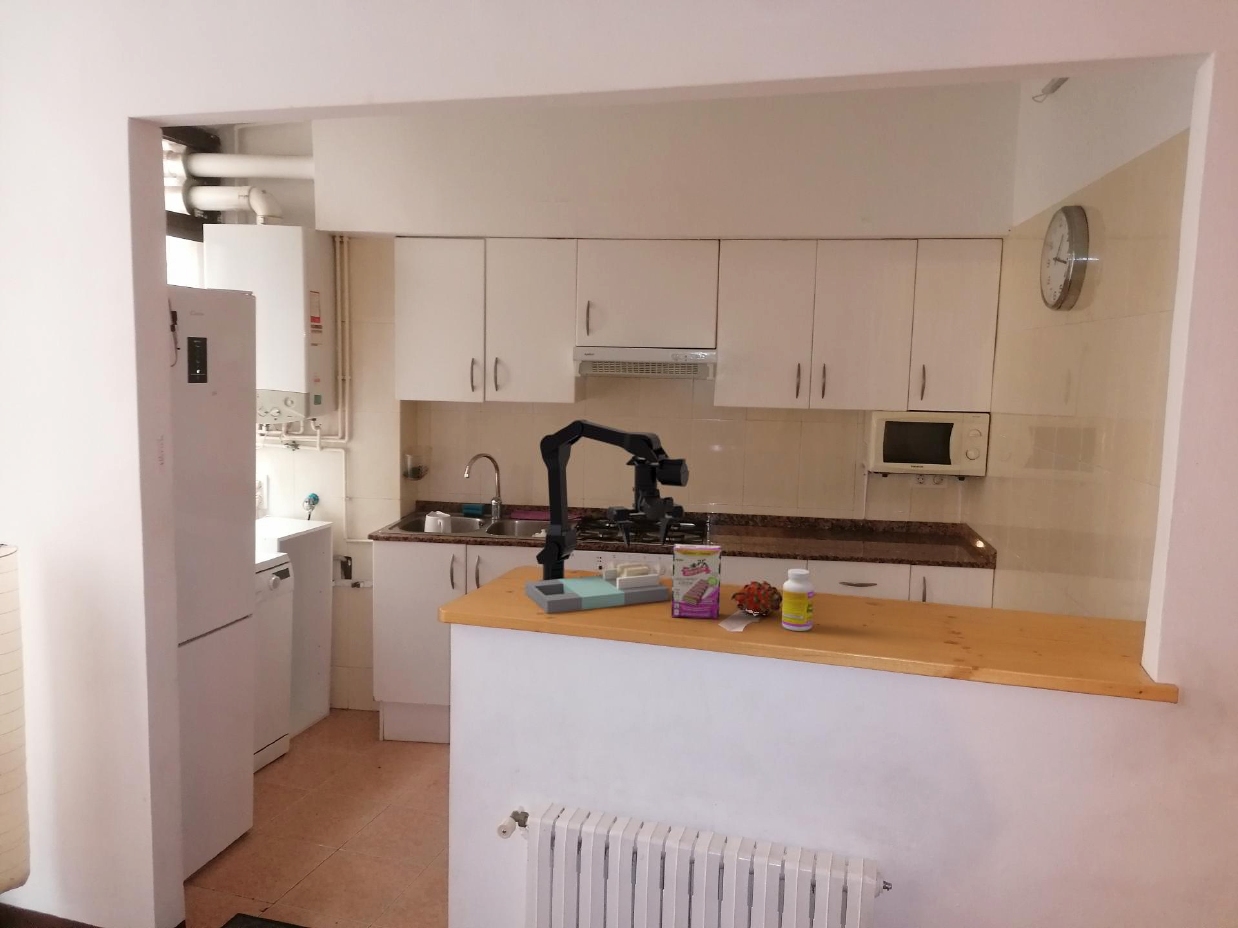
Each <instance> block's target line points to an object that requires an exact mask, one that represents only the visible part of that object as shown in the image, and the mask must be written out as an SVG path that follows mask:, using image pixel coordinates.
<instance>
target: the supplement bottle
mask: <svg viewBox="0 0 1238 928" xmlns="http://www.w3.org/2000/svg"><path fill="white" fill-rule="evenodd" d="M810 575H811V574H810V570H809V569H805V568H790V569H788V571H787V577H788V580H787V581H785V582H784V583H783V585H782V598H783V600H782V609H781V611H782V612H781V625H782V628H784V629H786V630H788V631H794V632H806V631H809V630H811V629H812V627H813V611H814V607H813V606H814V585H813V583H812V582H810V581H809V579H810V577H811V576H810Z"/></svg>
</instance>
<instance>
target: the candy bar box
mask: <svg viewBox="0 0 1238 928" xmlns="http://www.w3.org/2000/svg"><path fill="white" fill-rule="evenodd" d="M672 555H673V556H672V574H671V575H672V576H671V577H672V580H671V608H670V609H671V617H672V618H688V619H689V618H691V619H708V620H709V619H711V620H712V619H713V620H719V618H720V601H721V600H720V599H721V596H720V595H721V577H722V576H721V574H722V573H721V572H722V546H721V545H703V544H684V543H683V544H682V543H674V544H673V550H672Z"/></svg>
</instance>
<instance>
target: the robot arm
mask: <svg viewBox="0 0 1238 928" xmlns="http://www.w3.org/2000/svg"><path fill="white" fill-rule="evenodd" d="M582 438H587V439H590V440H594V441H597V442H602V443H605V444H608V445H612V446H615V447H619V448H621V449H622V450H624V451H626V452H627V453H629V454H631V455H632V456H631V458H630V459H629V460H628V461H627V462H626V463H625V465H626V466H631V467H633V466H634V467H633V468H634V472H633V473H634V475H633V476H634V478H633V479H634V480H633V481H634V484H633V485H634V486H632V492H634V493H633V494H634V495H633V503H632V508H627V507H624V506H623V505H621V506H620V505H618V506H617V505H616V506H608V507H607V510H606V518H607V519H608V520H611V521H612V522H614V524H616V526H617V527H618V529H619V531H620V534H621V536H622V538H623V541H624V543H625V544H624V545H625V546H626V548H627V549H630V547H631V546H630V545H631V540H630V539H631V536H630V527H631V521H629V519H630V518H632V517H633V518H634V517H646V518H647V519H649V520H654V519H659V541H660V545H661V546H665V543H666V541H667V538H668V536H669V533H670V531H671V528H672V526H673V525H674V523H676V522H678V521H680V518H685V508H684V506H683V505H681V504H678V503H677V502H676V503H675V502H674V498H673V497H672V496H665V497H662V498H661V491H660V488H658V483H660V485H662V486H669V487H679V488H681V487H687V485H688V483H689V478H690V471H689V468H688V467H689V466H688V465H687V463H686V458H681V457H680V458H670V457H669V455H668V453H667V452H666V450H665V449H664V447H663V446H662V443H661V439H660V437H659V435H658V434H656V433H654V432H645V431H626V430H622V429H619V428H616V427H615V428H614V427H611V426H607V425H602V424H600V423H596V422H591V421H590V420H589V421H588V420H587V419H583V418H582V419H575V420H573V421H572V422H571V423H569V424H568V425H566V426H564V427H563V428H561V429H559V430H558V431H556V432H554V433H553V434H551V433H550V434H546V435H545V436H543V438H542V439H541V440H540V441H539V448H540V449H539V450H540V454H541V459H542V461H543V463H544V465H545V467H546V469H547V485H548V486H547V488H548V505H549V509H548V510H549V511H548V512H549V524H548V525H549V526H548V528H547V531H546V534H545V538H544V539H545V541H544V548H543V549H542V550H540V552H539V553H538V554H536V556H535V559H536V561H537V564H538V565H542V579H541V580H538V581H544V580H555V579H565V561H566V560H568V559H570V556H571V554H572V553H573V552H574V551H575V550H576V548H577V547H576V546H577V544H578V543H579V541H578V538H577V535H578V534H577V533H578V529H577V528H572V527H571V524H570V522H569V508H568V507H569V505H568V504H569V503H568V487H567V484H568V482H567V466H568V463H569V460H570V458H571V453H572V446H573V445H575V444H576V443H577V442H579V441H580V440H581V439H582Z"/></svg>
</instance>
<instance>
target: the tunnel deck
mask: <svg viewBox="0 0 1238 928" xmlns="http://www.w3.org/2000/svg"><path fill="white" fill-rule="evenodd" d="M524 585H525V587H524V590H525V591H524V594H525V595H526V596H527V597H528V598H529V599H530V600H532V601H533V602H534V603H535V604H536V605H537V606H538V607H540V608H541V609H542V610H543V611H544V612H545V613H546V614H554V613H555V614H556V613H562V612H564V613H565V612H571V611H572V612H573V611H574V612H575V611H580V610H591V609H600V608H609V607H618V606H626V605H637V604H645V603H653V602H654V603H655V602H663V601H664V602H665V601H670V588H669V587H668V586H666V585H665V584H662V583H661V582H660V574H658V573H655V574H652V573H651V574H648V575H641V576H631V577H620V578H617V567H616V568H615V567H614V568H605V569H604V568H603V569H602V574H599V575H589V576H588V575H587V576H576V577H568V578H565V577H564V579H555V580H544V581H539V580H537V581H536V580H534V581H526V582H524Z"/></svg>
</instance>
